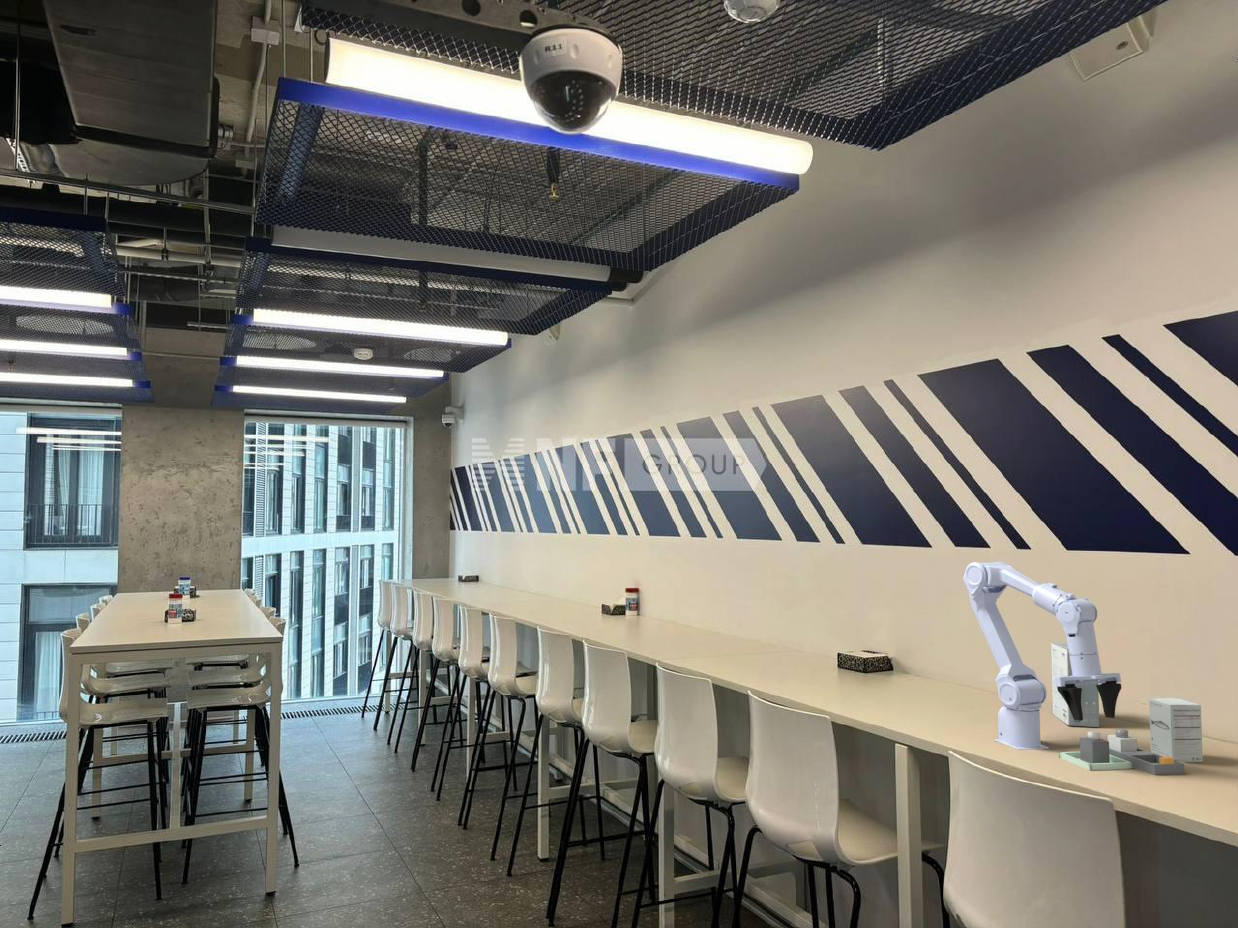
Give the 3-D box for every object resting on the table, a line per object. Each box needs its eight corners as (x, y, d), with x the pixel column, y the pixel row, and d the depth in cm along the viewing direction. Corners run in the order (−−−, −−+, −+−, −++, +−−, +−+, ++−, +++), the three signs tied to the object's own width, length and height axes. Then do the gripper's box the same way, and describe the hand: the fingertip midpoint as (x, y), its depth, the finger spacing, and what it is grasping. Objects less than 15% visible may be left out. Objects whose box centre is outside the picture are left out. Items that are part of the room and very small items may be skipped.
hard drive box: (1100, 728, 226) (1098, 649, 227) (1068, 726, 228) (1066, 648, 229) (1081, 715, 241) (1079, 641, 243) (1051, 714, 243) (1049, 640, 244)
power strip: (1094, 754, 199) (1093, 738, 200) (1122, 753, 201) (1121, 737, 201) (1154, 777, 182) (1154, 758, 182) (1184, 775, 183) (1184, 757, 183)
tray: (1058, 760, 195) (1058, 752, 195) (1099, 758, 196) (1099, 750, 196) (1089, 772, 185) (1089, 764, 185) (1132, 770, 186) (1132, 762, 187)
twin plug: (1108, 757, 197) (1107, 728, 198) (1124, 757, 198) (1123, 727, 198) (1121, 762, 193) (1120, 732, 194) (1137, 761, 194) (1136, 731, 194)
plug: (1080, 760, 192) (1079, 730, 193) (1096, 760, 193) (1095, 729, 193) (1092, 765, 188) (1091, 734, 189) (1109, 765, 189) (1108, 734, 189)
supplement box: (1149, 754, 201) (1147, 697, 201) (1180, 753, 201) (1178, 697, 202) (1172, 762, 193) (1169, 704, 194) (1204, 762, 194) (1202, 703, 195)
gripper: (1065, 656, 188) (1076, 722, 186) (1126, 652, 191) (1137, 717, 188) (1045, 656, 195) (1054, 720, 192) (1103, 652, 197) (1114, 715, 195)
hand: (1094, 718), depth 191 cm, fingers open, 7 cm apart
